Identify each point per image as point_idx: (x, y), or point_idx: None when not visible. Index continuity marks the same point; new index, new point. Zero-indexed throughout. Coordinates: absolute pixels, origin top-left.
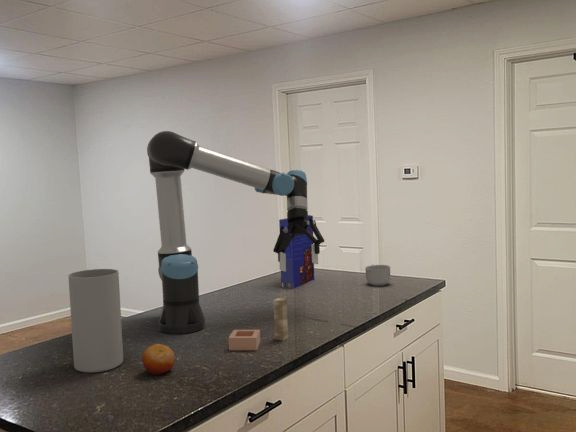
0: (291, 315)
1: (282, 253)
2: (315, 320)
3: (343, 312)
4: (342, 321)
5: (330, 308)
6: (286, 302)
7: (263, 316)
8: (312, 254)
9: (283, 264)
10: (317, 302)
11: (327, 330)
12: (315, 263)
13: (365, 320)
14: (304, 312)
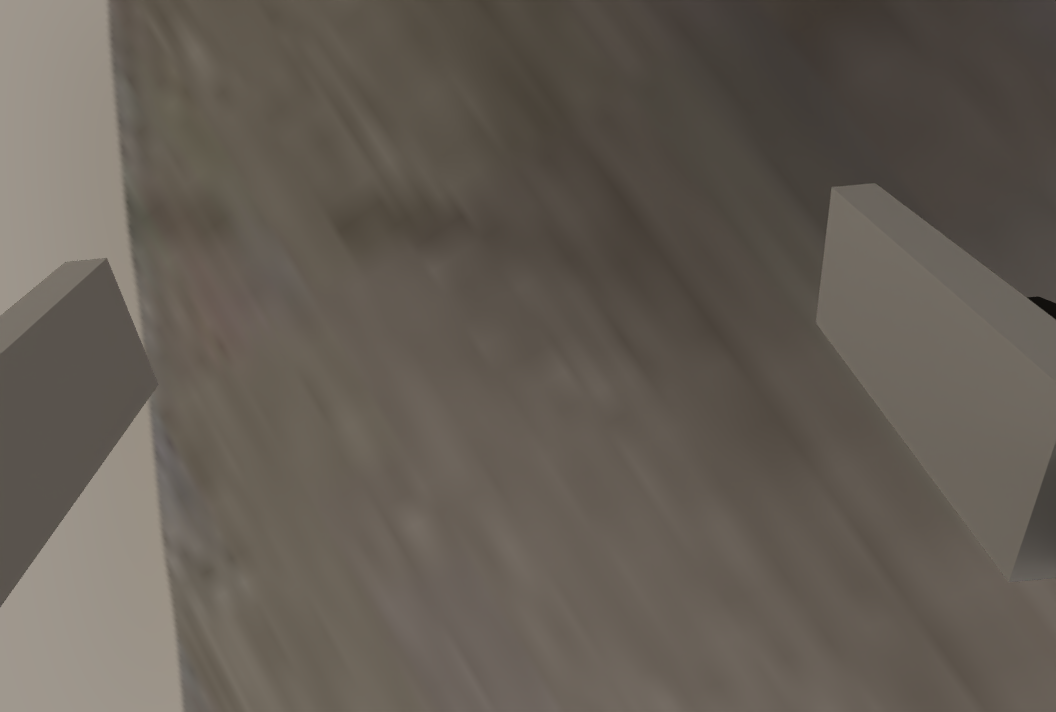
0: (681, 218)
1: (1032, 428)
2: (422, 199)
3: (376, 503)
4: (255, 283)
5: (522, 569)
6: None
7: (908, 37)
8: (5, 339)
9: (875, 307)
10: (734, 709)
11: (213, 28)
12: (124, 340)
13: None
14: (638, 361)
